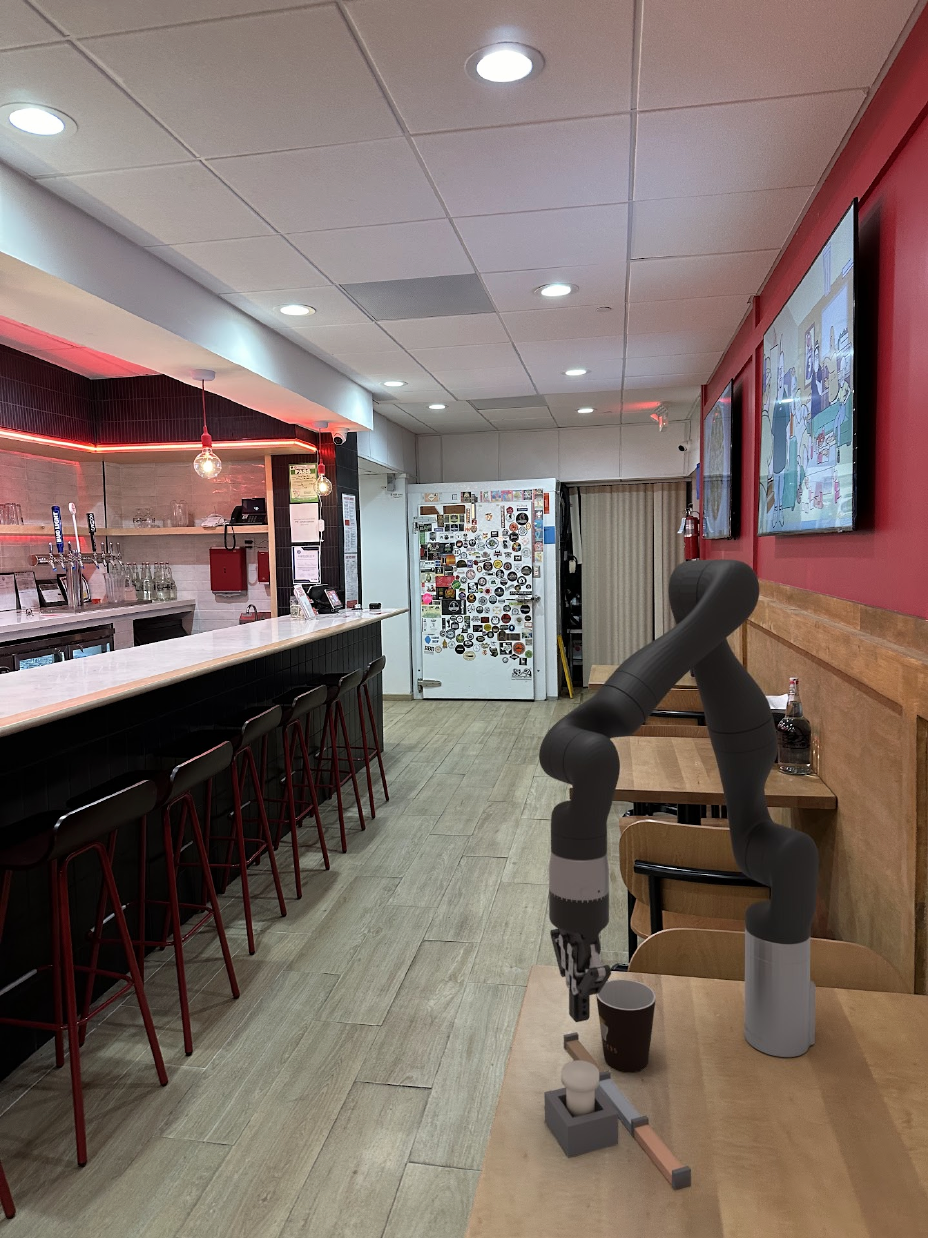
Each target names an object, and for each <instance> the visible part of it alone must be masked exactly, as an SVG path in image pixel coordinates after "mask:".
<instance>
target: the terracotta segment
mask: <svg viewBox="0 0 928 1238" xmlns="http://www.w3.org/2000/svg"><path fill="white" fill-rule="evenodd" d="M649 1118H650V1117H648V1115H643V1116H642V1115H641V1117H638V1118H634V1119H631V1132H630V1135H631V1136H632V1137H633V1138H634V1139H635V1140H636V1141H637V1143H638V1144H639V1145H640V1147H641V1148H642V1149H643V1150H644V1152H645V1153H646V1154H647V1155H648V1157H649V1158H650V1159H651V1161H652V1162H653V1163H654V1164H655V1166H656V1167H657V1168H658V1170H659V1171H660V1173H662V1174H663V1176H664V1178H665V1179H666V1180H667V1182H668V1183H669V1184H670V1185H671V1187H672V1189H673V1190H674V1191H677V1190H679V1189H683V1188H686V1187H690V1186H691V1185H692V1169H691V1167H690V1166H689V1165H686V1166H683V1165H682V1164H681V1163H680V1162H679V1160H678V1159H677V1158H676V1157H675V1156H674V1154H672V1152H671V1151H670V1150H669V1148H668V1147H667V1146H666V1144H665V1143H664V1142H663V1141H662V1140H661V1138H660V1137H659V1136H658V1135H657V1133H655V1131H654V1130H653V1128H652V1127H651V1126H650V1125H649V1122H650V1121H649Z"/></svg>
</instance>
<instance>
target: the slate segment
mask: <svg viewBox="0 0 928 1238" xmlns="http://www.w3.org/2000/svg"><path fill="white" fill-rule="evenodd" d="M603 1071H604V1072H600V1073H599V1085H598V1089H599V1090H600V1091H601V1093H602V1094H603V1095H604V1096H605V1098H606V1099H607V1100H608V1101H609V1103H610V1104H611V1105H612V1107H613V1108H614V1109H615V1110H616V1112H617V1113H618V1119H620V1121H621V1122H622V1123H623V1125H624V1126H625V1127H626V1128H627V1130H628V1131H629V1132H630V1133H631V1119H634V1118H638V1117H642V1115H641V1114H640V1113H639V1112H638V1111H637V1109H636V1108H635V1107H634V1106H633V1104H632V1103H631V1102H630V1101H629V1099H628V1098H627V1097H626V1096H625V1094H623V1092H622V1091H621V1089H619V1088H618V1086H617V1085H616V1084H615V1083H614V1081H613V1080H612V1079H611V1078H612V1075H611V1074H612V1072H611V1071H610V1070H603Z"/></svg>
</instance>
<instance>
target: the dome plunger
mask: <svg viewBox="0 0 928 1238" xmlns="http://www.w3.org/2000/svg"><path fill="white" fill-rule="evenodd" d="M560 1073H561V1083H562V1085H563V1086H564V1088H565V1087H566V1106H567V1110H568V1112H569V1113H570V1115H571V1116H572V1118H574V1117H578V1116H581V1115H585V1114H589V1113H593V1112H595V1089H596V1088H597V1087H598V1085H599V1070H598V1068H597V1067H596V1066H595V1065H593V1064H592V1063H589V1062H587V1061H581V1060H576V1061H574V1060H570V1061H568V1062H566V1063H565V1064H563V1065H562V1067H561V1072H560Z"/></svg>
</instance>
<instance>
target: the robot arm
mask: <svg viewBox="0 0 928 1238" xmlns="http://www.w3.org/2000/svg"><path fill="white" fill-rule="evenodd" d="M667 589H668V601H669V606H670V611H671V614H672V617H673V618H674V622H675V624H676V625H675V626H674V627H672V628H671V629H670V630H668V631H667V632H665V633H664V634H662V635H661V636H659V637H657V638H656V639H654V640H653V641H650V642H649V643H648V644H646V645H644V646H643V647H641V648H639V649H638V650H637V651H635V652H634V653H633V654H631V655H630V656H629V657H627V658H626V659H625V660H623V662H622V663H620V665H618V667H617V668H616V669H615V670H614V671H613V672H612V673H611V674H610V676H609V677H608V678H607V680H606V681H605V682H604V683H603V684H602V685H601V687H599V689H598V690H597V692H595V694H594V695H593V696H591V697H590V698H589V699H588V700H586V701H584V702H583V703H581V704H580V705H577V706H576V708H574V709H573V710H571V711H570V712H568V713H566V715H565V716H563V717H562V718H561V719H559V720H558V721H557V722H556V723H554V724H553V725H552V726H551V727H550V729H549V730H548V731H547V732H546V734H545V736H544V737H543V739H542V741H541V744H540V747H539V750H538V751H539V752H538V761H539V764H540V767H541V769H542V771H544V773H545V774H546V775H547V776H549V778H551V779H553V780H556V781H559V782H562V783H565V784H568V785H571V787H572V790H571V798H570V800H565V801H561V802H559V803H558V804H556V805H555V806H554V807H553V809H552V812H551V815H550V816H551V817H550V857H549V858H550V859H549V863H548V864H549V865H548V901H549V902H548V918H549V921H550V923H551V924H552V925H553V926H554V927H555V928H554V929H553V928H552V929H550V931H549V933H550V935H549V936H550V938H551V942H552V947H553V950H554V954H555V957H556V958H555V959H556V963H557V966H558V969H559V975H560V976H561V977H562V978H565V986H566V988H567V989H568V1014H569V1016H570V1017H571V1019H572V1020H573V1021H574V1022H575V1023H581V1022H584V1021H585V1022H586V1021H588V1020H589V1019H590V1014H591V1013H590V1011H591V1009H590V1007H591V1006H590V1001H591V999H590V996H592V995H593V996H594V995H596V994H599V993H600V991H601V989H602V988H603V986H604V985H605V983H606V982H607V980H608V981H609V978H610V977H611V975H612V970H611V966H610V965H609V964H605V965H603V963H602V961H601V958H600V954H601V951H602V946H601V940H600V936H599V935H600V933H601V932H602V931H603V930H604V929H605V928H606V927H607V926H608V925H609V922H610V867H609V860H608V818H609V815H610V811H611V808H612V804H613V801H614V796H615V793H616V790H617V786H618V782H619V778H620V772H621V761H620V760H621V759H620V756H619V753H618V752H619V751H618V749H617V747H616V745H615V743H614V742H613V740H611V739H615V738H623V737H625V738H627V737H629V736H632V735H634V734H635V733H637V731H638V730H639V729H640V727H642V725H643V724H644V723H645V722H646V720H647V719H648V718H649V717H650V715H651V714H652V713H653V712H654V710H656V708H657V707H658V706H659V705H660V703H661V702H662V701H663V699H664V698H665V697H666V696H667V695H668V694H669V693H670V691H671V690H672V689H673V688H674V687H675V686H676V685H677V683H679V681H681V679H682V678H684V676H685V675H686V674H687V673H688V672H690V671H691V670H692V672H693V676H694V680H695V684H696V687H697V691H698V694H699V697H700V702H701V705H702V708H703V713H704V718H705V723H706V728H707V732H708V736H709V740H710V742H711V747H712V750H713V753H714V754H713V755H714V757H715V760H716V763H717V769H718V773H719V778H720V782H721V787H722V791H723V796H724V800H725V806H726V813H727V821H728V827H729V828H728V829H729V835H730V843H731V849H732V854H733V859H734V861H735V864H736V866H737V867H738V869H739V870H740V872H741V873H742V874H743V875H745V876H746V877H747V878H748V879H749V878H750V880H753V881H756V882H758V883H759V884H762V885H765V886H766V887H769V888H770V889H771V891H770V899H769V900H762V901H757V902H754V903H752V904H750V905H749V906H747V908H746V910H745V915H744V916H745V917H744V926H745V927H744V948H745V949H744V951H745V952H744V1038H745V1039H746V1041H747V1043H748V1044H749V1045H750V1046H752V1048H755V1049H756V1050H758V1051H759V1052H762V1053H764V1054H767V1055H771V1056H774V1057H780V1058H792V1057H793V1058H794V1057H798V1056H799V1057H800V1056H801V1055H803V1054H805V1053H806V1052H807V1051H808V1050H809V1048H810V1046H812V1045H813V1046H814V1045H815V1043H816V1041H815V1039H816V1038H815V1037H816V1030H815V1029H816V984H815V982H814V981H813V980H811V929H812V923H813V921H814V917H815V914H816V910H817V909H816V907H817V893H818V877H819V862H820V861H819V851H818V847H817V845H816V843H815V841H814V839H813V838H812V837H811V836H810V835H809V834H807V833H805V832H803V831H800V830H797V829H794V828H791V827H789V826H785V825H782V824H779V823H776V822H775V821H774V820H773V819H772V817H771V814H770V811H769V808H768V803H767V799H766V793H765V792H766V791H765V789H766V788H765V786H766V783H767V780H768V777H769V775H770V774H771V771H772V769H773V766H774V764H775V761H776V758H777V755H778V753H779V751H778V750H779V739H778V738H779V737H778V733H777V730H776V725H775V722H774V721H775V720H774V716H773V713H772V709H771V705H770V703H769V700H768V698H767V696H766V694H765V693H764V692H763V690H762V688H761V687H760V686H759V684H758V683H757V682H756V680H755V679H754V678H753V677H752V675H751V674H750V673H749V671H747V669H746V668H745V667H744V666H743V664H742V663H741V661H740V660H739V659H738V657H737V655H735V653H734V652H733V650H732V648H731V646H730V644H729V641H728V637H729V636H730V635H731V634H733V633H734V632H735V631H736V630H737V629H739V627H741V626H742V625H743V624H744V623H745V622H746V621H747V620H748V619H749V618H750V617H751V615H753V612H754V611H755V609H756V607H757V605H758V602H759V598H760V582H759V579H758V576H757V574H756V572H755V570H754V569H753V568H752V567H751V566H750V565H749V564H748V563H745V562H744V561H741V560H738V559H731V558H729V559H725V558H724V559H723V558H722V559H698V560H696V559H695V560H693V559H692V560H688V561H683V562H681V563H678V564H677V565H676V566H675V568H674V569H673V571H672V573H671V575H670V577H669V582H668V587H667Z"/></svg>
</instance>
